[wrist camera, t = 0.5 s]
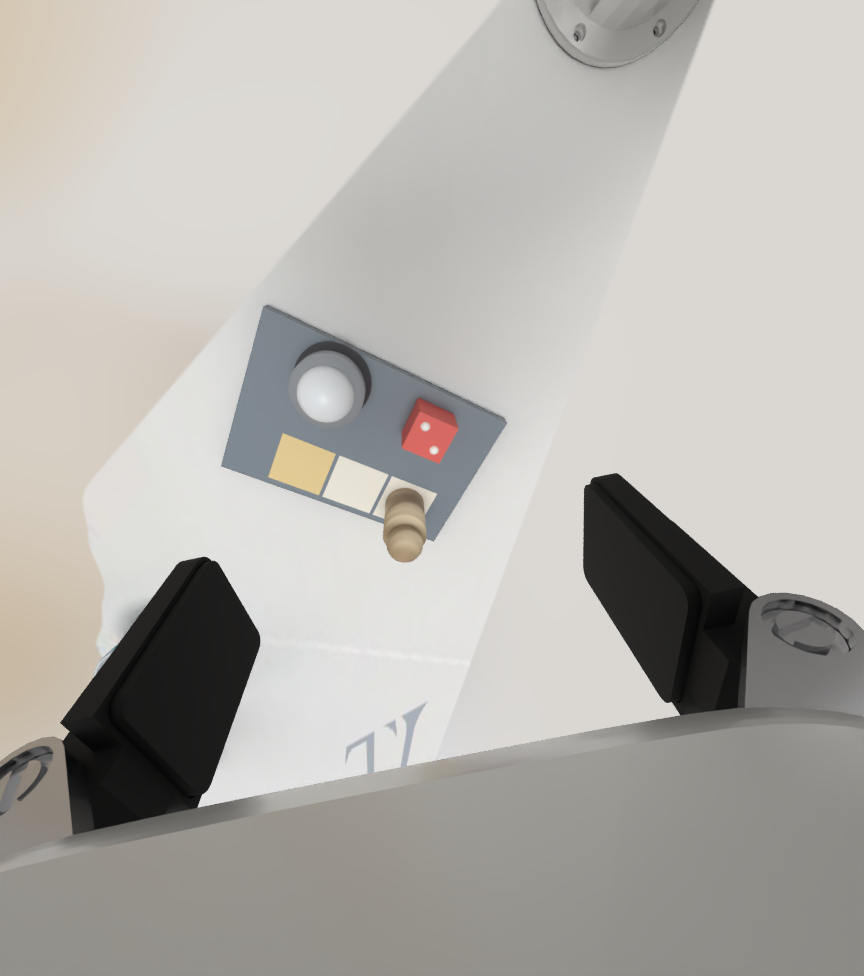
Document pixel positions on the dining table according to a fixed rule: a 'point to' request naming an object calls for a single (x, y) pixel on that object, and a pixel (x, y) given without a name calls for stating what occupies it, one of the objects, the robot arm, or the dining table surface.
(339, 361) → the dome
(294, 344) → the board
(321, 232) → the dining table surface
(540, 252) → the dining table surface
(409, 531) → the pawn
